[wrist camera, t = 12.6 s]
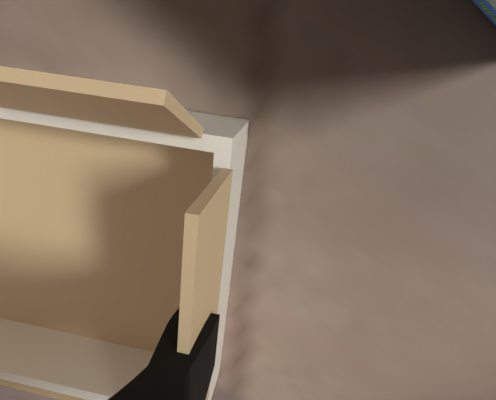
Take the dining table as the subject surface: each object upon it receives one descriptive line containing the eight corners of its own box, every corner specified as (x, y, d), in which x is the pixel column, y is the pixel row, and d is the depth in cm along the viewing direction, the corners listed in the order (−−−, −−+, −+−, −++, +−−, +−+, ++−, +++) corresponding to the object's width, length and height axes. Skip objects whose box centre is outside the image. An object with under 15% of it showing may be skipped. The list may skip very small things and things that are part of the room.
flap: (167, 512, 12) (177, 515, 12) (185, 212, 8) (199, 215, 8) (198, 420, 15) (205, 421, 15) (222, 167, 11) (232, 169, 10)
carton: (215, 410, 19) (197, 474, 16) (-66, 344, 21) (-126, 392, 18) (249, 119, 13) (232, 139, 10) (-144, 60, 15) (-253, 63, 12)
